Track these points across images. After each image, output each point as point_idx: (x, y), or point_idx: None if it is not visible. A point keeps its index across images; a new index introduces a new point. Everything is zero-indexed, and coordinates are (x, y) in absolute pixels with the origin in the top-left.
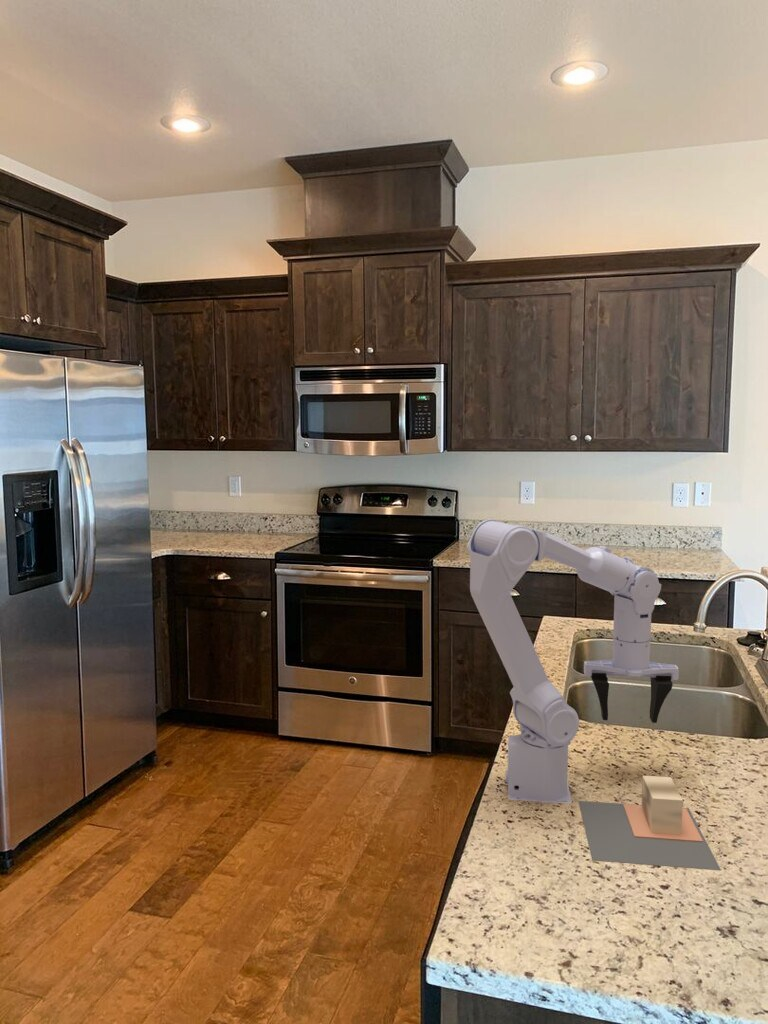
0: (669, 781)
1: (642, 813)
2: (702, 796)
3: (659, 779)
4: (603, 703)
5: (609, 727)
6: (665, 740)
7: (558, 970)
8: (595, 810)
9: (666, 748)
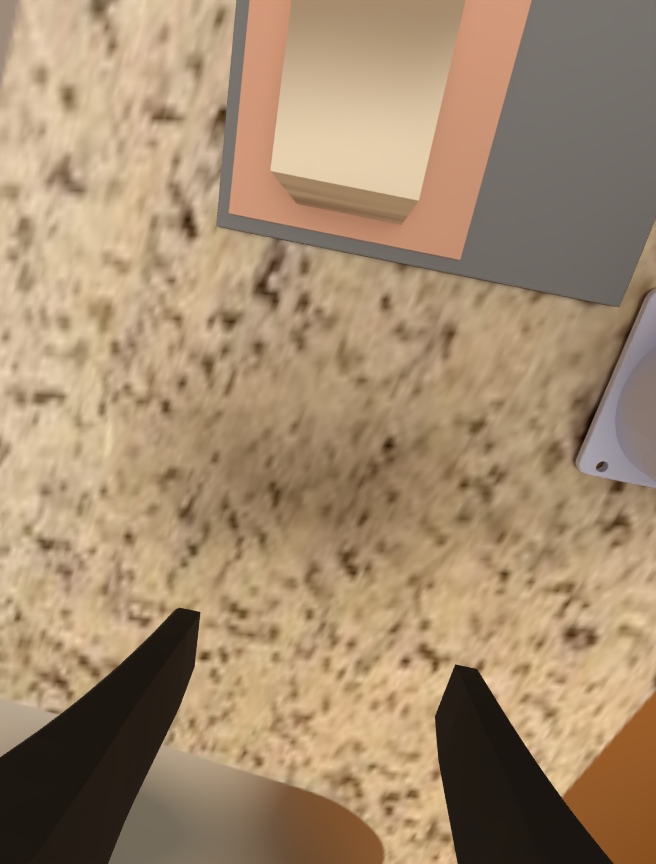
0: (298, 111)
1: None
2: (134, 343)
3: (345, 140)
4: (536, 780)
5: (272, 769)
6: None
7: None
8: (592, 219)
9: None
